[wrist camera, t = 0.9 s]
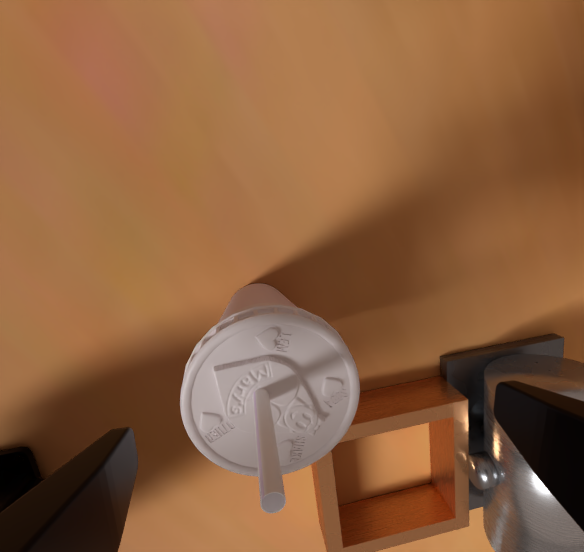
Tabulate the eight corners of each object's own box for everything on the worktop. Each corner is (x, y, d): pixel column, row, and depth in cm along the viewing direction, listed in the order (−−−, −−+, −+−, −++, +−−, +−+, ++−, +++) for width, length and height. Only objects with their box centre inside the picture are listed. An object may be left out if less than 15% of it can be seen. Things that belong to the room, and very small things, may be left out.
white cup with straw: (243, 240, 20) (255, 324, 6) (328, 297, 22) (480, 460, 8) (184, 327, 21) (80, 572, 7) (271, 377, 22) (322, 653, 9)
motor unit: (321, 537, 26) (356, 678, 18) (300, 384, 23) (331, 477, 15) (545, 479, 28) (659, 582, 20) (554, 333, 25) (691, 391, 17)
